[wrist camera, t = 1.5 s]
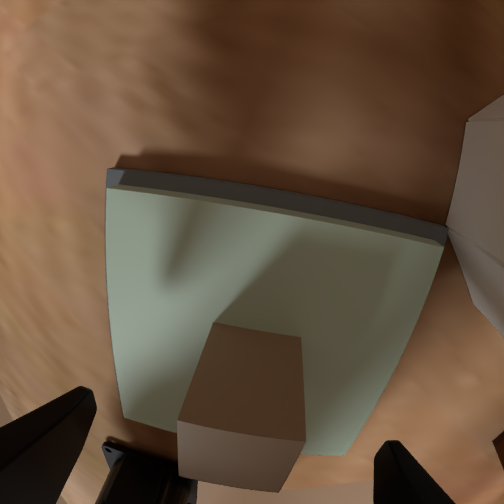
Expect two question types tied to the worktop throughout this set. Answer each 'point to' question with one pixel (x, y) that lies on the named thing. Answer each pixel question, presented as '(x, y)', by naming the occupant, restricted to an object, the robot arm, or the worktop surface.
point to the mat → (273, 202)
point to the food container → (500, 447)
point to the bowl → (481, 211)
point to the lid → (255, 326)
